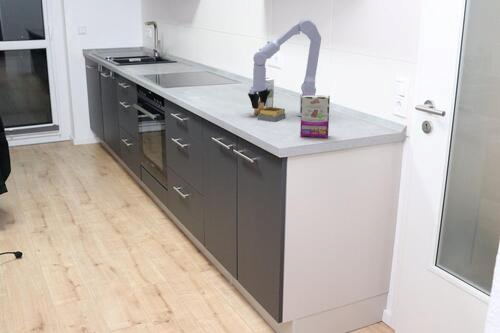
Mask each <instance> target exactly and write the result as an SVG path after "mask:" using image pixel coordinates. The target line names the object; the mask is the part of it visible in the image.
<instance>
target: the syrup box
mask: <svg viewBox="0 0 500 333" xmlns="http://www.w3.org/2000/svg"><path fill="white" fill-rule="evenodd" d="M265 85H266V86H269V90H268V91H270V93H269V95H268V97H267V101H266V104H265V106H264V108H267V107H274V95H275V91H274V89H275V79H274V78H271V77H266V84H265ZM257 94H259V93H258V92H257ZM258 101H260V97H259V100H258Z"/></svg>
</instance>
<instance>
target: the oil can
mask: <svg viewBox="0 0 500 333" xmlns="http://www.w3.org/2000/svg"><path fill="white" fill-rule="evenodd" d="M262 109H264V102H260V101H258V107H257V109H254V108H253V114H254V115H253V116H256V117H258V115H259V114H260V110H262Z"/></svg>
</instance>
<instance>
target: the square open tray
mask: <svg viewBox="0 0 500 333" xmlns="http://www.w3.org/2000/svg"><path fill="white" fill-rule="evenodd" d="M286 114H287V113H286V110H285V108H281V107H275V106H273V107H267V108H264V109H262V110H260V114H259V115H258V116H257V121H258V120H259V121H266V122H275V123H276V122H278V121H281V120H284V119H286V116H287V115H286Z"/></svg>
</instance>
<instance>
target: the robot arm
mask: <svg viewBox="0 0 500 333" xmlns="http://www.w3.org/2000/svg"><path fill="white" fill-rule="evenodd" d="M301 33H302V34H303V35H304V36H306V37H307V39H309V40H310V43H309V49H308V55H307V56H308V57H307V64H306V70H305V75H304V79H303V83H302V84H301V85H300V86H301V87H300V89H301V93H302V94H300V101H299V105H300V106H299V113H298V114H296V117H301V97H302V95H316V93H317V89H316V88H317V87H316V76H317V69H318V62H319V56H320V49H321V44H322V43H321V42H322V36H321V34H320V31H319V30H318V27H317V25H316V24H315V23H314V22H313V21H312V20H311V19H309V18H306V17H305V18H302V19H301V20H299V21H298V22H296V23H294V24H293V25H292V26H291V27H289V28H288V29H286V31H284V33H282V35H280V36H279V37H278V38H276V39H275V40H274V39H271V40H267V42H266V44H265V45H264V46H263V47H262V48H260V47H259V49H258V51H257V52H255V53H254V56H253V58H252V59H253V73H252V76H253V77H252V79H253V80H252V86H251V87H250V89H249V92H248V93H247V96H248V97H249V99H250V102H251V103H250V104H251V107H252V109H253V110H254V109H257V107H258V100H259V97H260V102H264V106H265V104H266V101H267V97H268V95H269V93H270V91H268V90H269V86H266V85H265V84H266V78H267V76H266V75H267V74H266V72H267V71H266V70H267V69H266V62H267V60H269V59H271V58H272V57H273V56H275V54H277V52H279V51H280V49H281V48H280V47H281V46H282V45H283V44H284V43H285V42H287V41H288V40H290V39H291V38H292V37H293V36H295V35H296V36H297V35H301ZM258 93H259V94H258Z"/></svg>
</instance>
